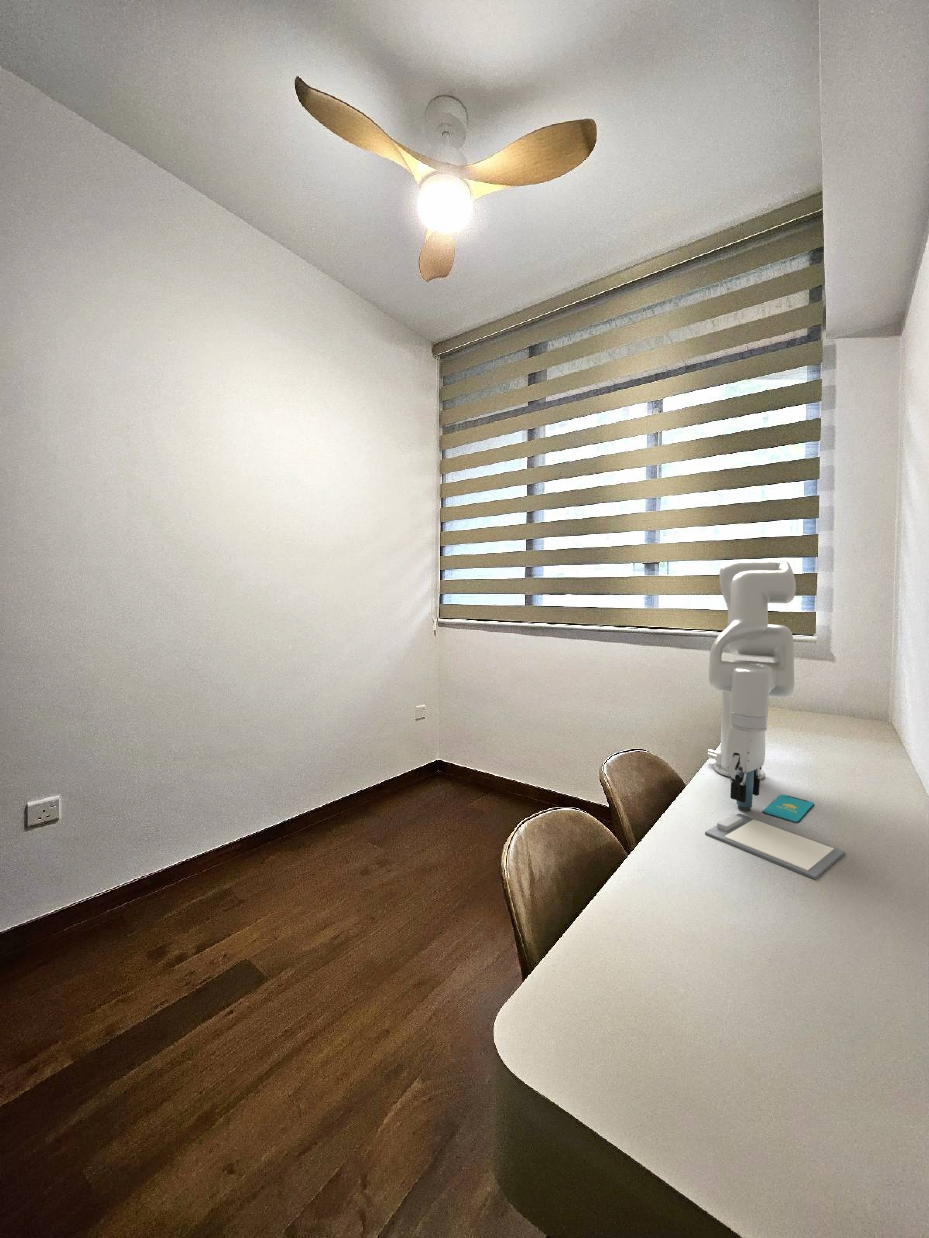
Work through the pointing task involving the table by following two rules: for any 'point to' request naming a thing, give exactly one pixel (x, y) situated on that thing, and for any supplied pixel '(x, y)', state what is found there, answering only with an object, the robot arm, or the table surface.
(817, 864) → the clipboard
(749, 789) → the bottle
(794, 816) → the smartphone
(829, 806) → the table surface
